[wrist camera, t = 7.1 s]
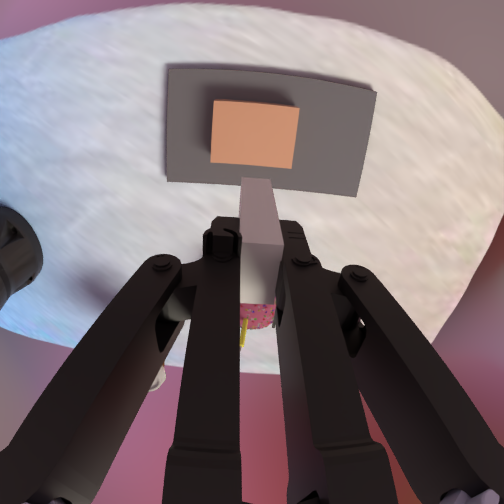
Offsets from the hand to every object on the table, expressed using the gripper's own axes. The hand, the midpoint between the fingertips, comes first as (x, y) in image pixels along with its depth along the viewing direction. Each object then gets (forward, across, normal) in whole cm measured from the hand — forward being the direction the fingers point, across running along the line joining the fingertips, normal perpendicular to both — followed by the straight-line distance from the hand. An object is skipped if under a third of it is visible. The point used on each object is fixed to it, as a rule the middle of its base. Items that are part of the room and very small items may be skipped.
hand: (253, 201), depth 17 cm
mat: (+22, +2, 0) cm, 22 cm away
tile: (+19, +5, 0) cm, 20 cm away
